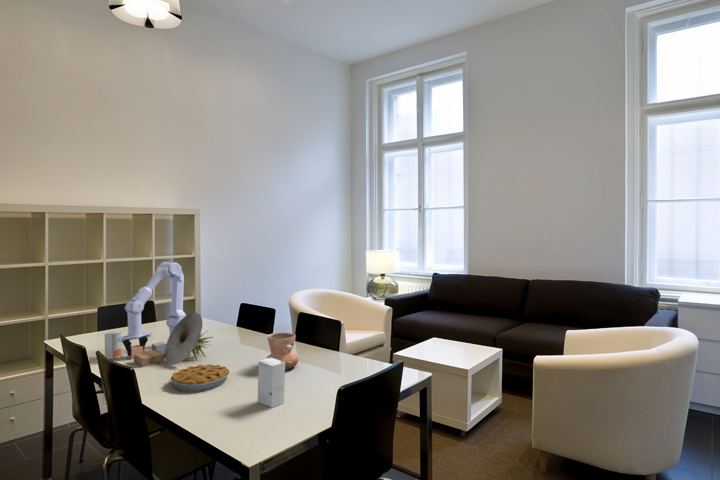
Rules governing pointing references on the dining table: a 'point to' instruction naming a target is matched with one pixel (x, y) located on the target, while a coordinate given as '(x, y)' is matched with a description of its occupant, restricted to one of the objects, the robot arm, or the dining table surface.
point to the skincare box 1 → (112, 344)
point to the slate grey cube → (159, 347)
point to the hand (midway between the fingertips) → (135, 354)
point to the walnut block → (149, 358)
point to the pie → (200, 377)
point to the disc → (185, 339)
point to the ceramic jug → (283, 348)
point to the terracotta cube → (135, 350)
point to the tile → (147, 349)
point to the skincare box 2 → (271, 382)
